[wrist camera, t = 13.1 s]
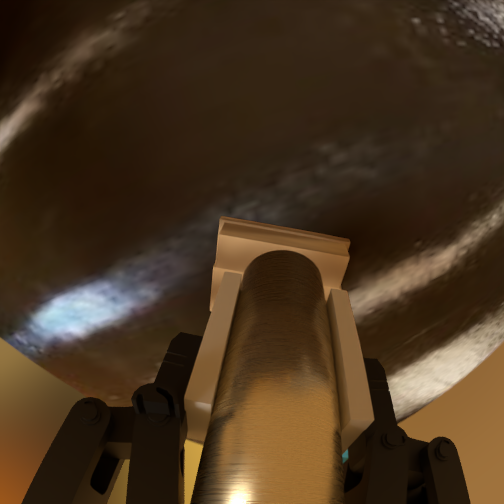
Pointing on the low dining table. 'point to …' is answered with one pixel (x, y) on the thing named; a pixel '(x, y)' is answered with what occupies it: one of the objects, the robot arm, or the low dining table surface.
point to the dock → (276, 238)
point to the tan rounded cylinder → (275, 394)
